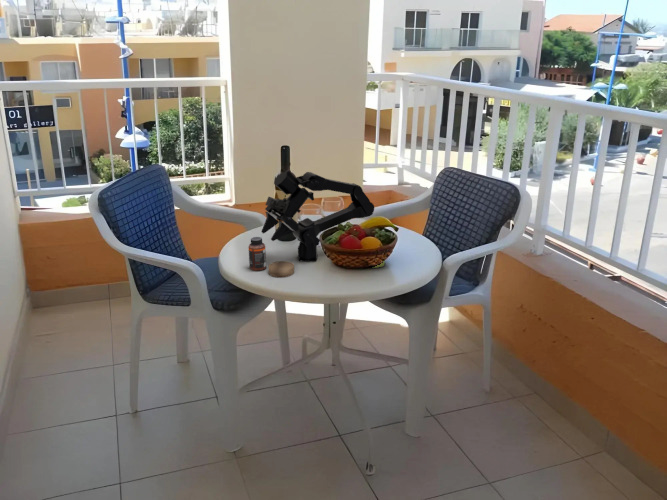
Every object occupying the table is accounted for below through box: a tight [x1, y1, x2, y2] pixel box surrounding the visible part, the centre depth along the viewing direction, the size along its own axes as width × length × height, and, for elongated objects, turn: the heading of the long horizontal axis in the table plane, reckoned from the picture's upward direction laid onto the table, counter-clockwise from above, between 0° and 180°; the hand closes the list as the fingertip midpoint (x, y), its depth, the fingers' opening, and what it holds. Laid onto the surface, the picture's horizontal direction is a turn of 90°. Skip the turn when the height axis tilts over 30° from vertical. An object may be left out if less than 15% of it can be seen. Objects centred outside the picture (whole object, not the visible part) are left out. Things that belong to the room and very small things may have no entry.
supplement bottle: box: [247, 236, 267, 272], centre depth 205 cm, size 6×6×11 cm
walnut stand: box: [268, 260, 295, 278], centre depth 203 cm, size 9×9×2 cm
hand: (267, 236), depth 205 cm, fingers open, 9 cm apart
